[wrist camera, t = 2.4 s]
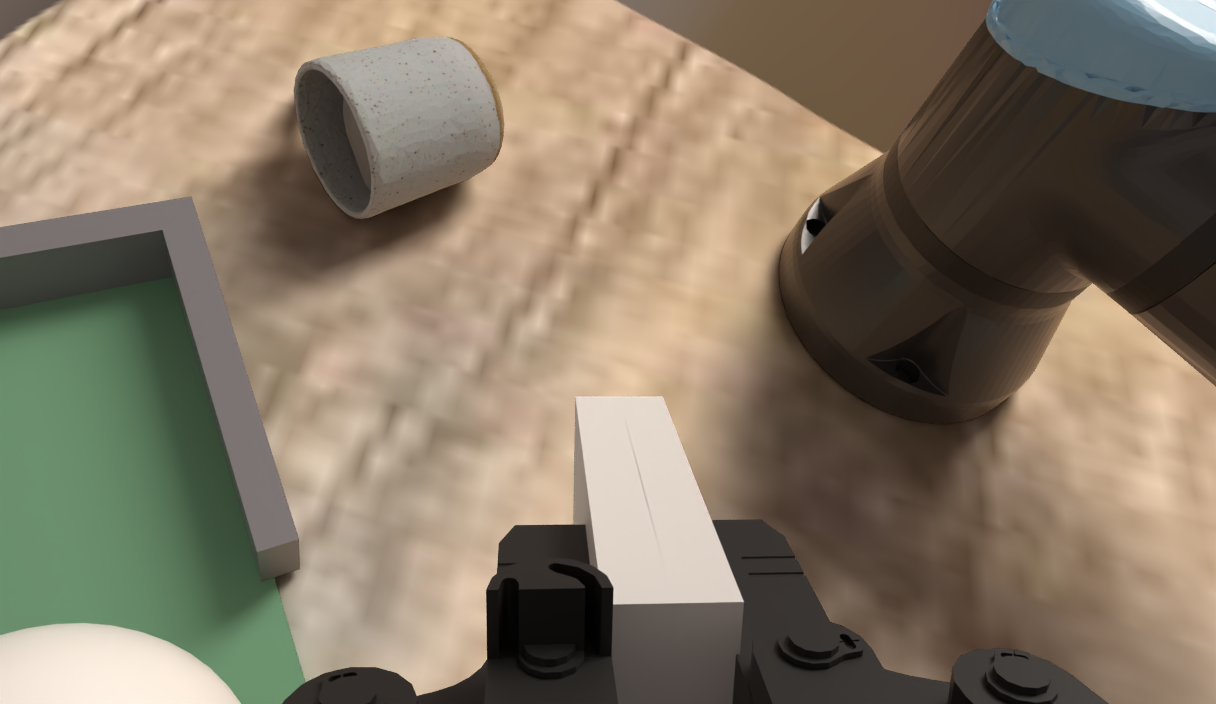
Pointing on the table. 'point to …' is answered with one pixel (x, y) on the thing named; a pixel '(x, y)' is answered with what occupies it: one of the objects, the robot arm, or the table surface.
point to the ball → (102, 668)
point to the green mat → (128, 489)
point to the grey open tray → (175, 247)
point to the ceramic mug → (397, 121)
